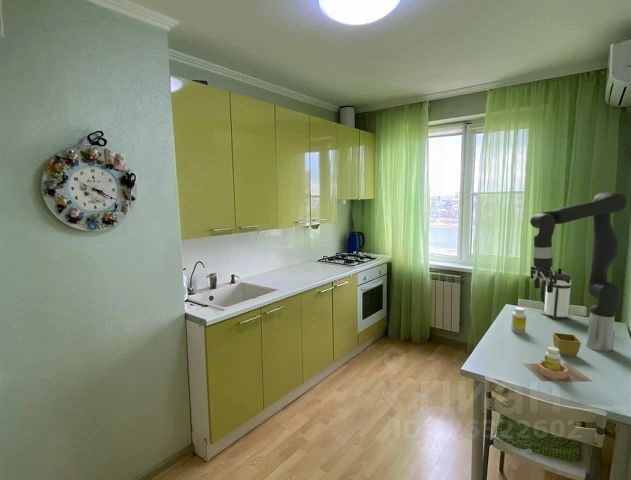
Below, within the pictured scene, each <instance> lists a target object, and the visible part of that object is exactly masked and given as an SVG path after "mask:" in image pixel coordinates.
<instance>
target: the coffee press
mask: <svg viewBox="0 0 631 480" xmlns="http://www.w3.org/2000/svg"><path fill="white" fill-rule="evenodd" d="M555 271H556V275H557V284H553V292H552V293H548V292H547V285H548V284H547V283H546V281H545V280H544V279H543V281H542V282H541V285H540V289H541V290H540V300H541V302H542V303H543V310H542V311H541V312H540V314H541V315H545V314H546V315H548V316H552V317H553V318H552V320H553V321H557V318H567V320H571V319H572V317H571V315H570V314H569V312H570V305H571V303H570V302H571V296H572V295H571V293H572V281H573V277H572V275H571V274H570V273H567V272H565V271H563V269H562V268H561V267H559V268H557V270H555ZM548 278H549V277H548ZM548 281H549V282H550V280H548ZM553 281H554V279H553ZM543 312H544V313H543ZM568 316H569V317H568Z"/></svg>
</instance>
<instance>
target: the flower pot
mask: <svg viewBox="0 0 631 480" xmlns="http://www.w3.org/2000/svg"><path fill="white" fill-rule="evenodd" d="M552 334H553V335H552V336H553V337H552V338H553V345H554V346H553V347H556V348H558V349H559V353H558V354H560V356H566V357H576V356H578V353H579V352H580V347H581V345H582V341H581V340H580V339H579V338H578V337H577V336H576V335H575V334H570V333H563V332H553V333H552Z"/></svg>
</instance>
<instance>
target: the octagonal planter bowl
mask: <svg viewBox="0 0 631 480" xmlns="http://www.w3.org/2000/svg"><path fill="white" fill-rule="evenodd" d="M544 363H545V359H540V360H539V361H538V362H537V363H536V364H537V371H538V372H539V373H541V374H542V375H543V376H546V377H549V378H552V379H566V378H567V376H568V370H569V369H568V368H567V367H566V366H565V365H563V364H564V363H563V362H560V371H553V370H550V369H547V368H544Z"/></svg>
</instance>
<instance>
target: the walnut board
mask: <svg viewBox="0 0 631 480" xmlns="http://www.w3.org/2000/svg"><path fill="white" fill-rule="evenodd" d="M562 364H563V365H565V366H566V367H567V368H568V369H569V370H568V376H567V378H566V379H552V378H549V377H546V376H543V375H542V374H541V373H539V372H538V371H537V363H523V366H525V367H526V369H528V371H530V372H531V373H532V374H533V375H535V376H536V377H537V378H538V380H540V381H541V382H594V381H593V380H592V379H591V378H589V377H588V376H587V375H586V374H584V373H583V372H581V371H580V370H579V369H577V368H576V367H575V366H573V365H572V364H571V363H562Z"/></svg>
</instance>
